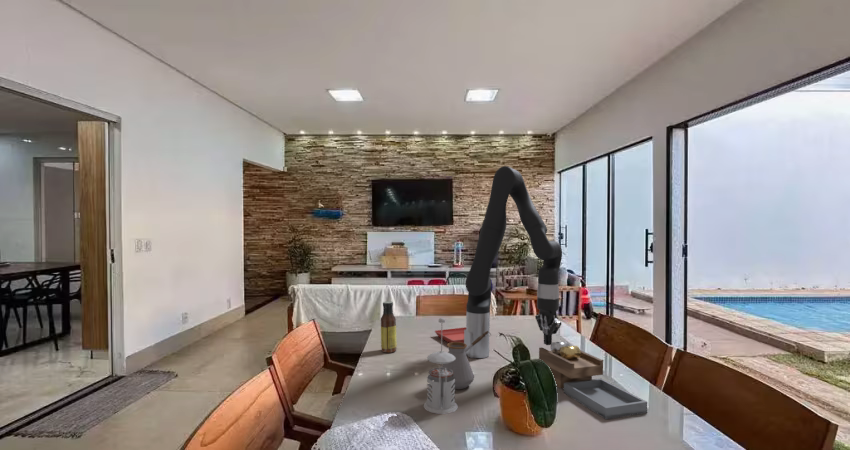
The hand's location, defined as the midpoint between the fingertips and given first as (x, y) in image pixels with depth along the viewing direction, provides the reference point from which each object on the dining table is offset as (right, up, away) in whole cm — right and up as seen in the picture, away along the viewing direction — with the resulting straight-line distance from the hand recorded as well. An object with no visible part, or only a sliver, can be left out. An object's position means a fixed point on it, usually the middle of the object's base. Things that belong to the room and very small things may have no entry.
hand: (547, 344), depth 147 cm
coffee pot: (-30, -9, -12) cm, 34 cm away
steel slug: (+2, -1, -8) cm, 8 cm away
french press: (-40, -9, -31) cm, 51 cm away
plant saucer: (-28, -9, +37) cm, 48 cm away
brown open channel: (+3, -9, -12) cm, 15 cm away
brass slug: (+4, -1, -13) cm, 14 cm away
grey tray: (+8, -9, -27) cm, 29 cm away
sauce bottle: (-59, -8, +19) cm, 62 cm away
